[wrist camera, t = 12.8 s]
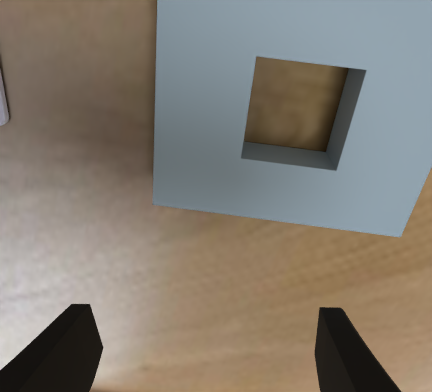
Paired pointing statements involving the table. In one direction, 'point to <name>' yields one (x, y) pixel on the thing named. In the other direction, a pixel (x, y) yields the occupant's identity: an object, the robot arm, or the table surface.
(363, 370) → the robot arm
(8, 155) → the table surface
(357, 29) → the light blue flat block
